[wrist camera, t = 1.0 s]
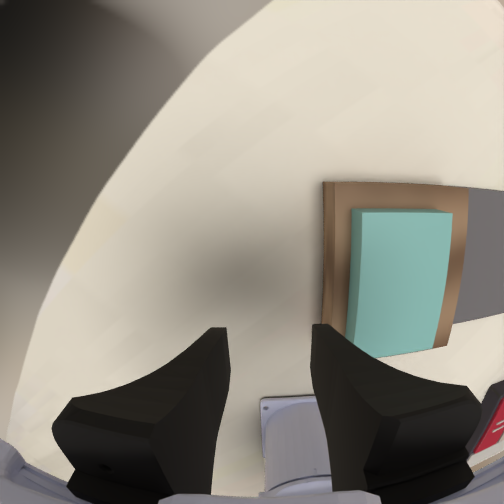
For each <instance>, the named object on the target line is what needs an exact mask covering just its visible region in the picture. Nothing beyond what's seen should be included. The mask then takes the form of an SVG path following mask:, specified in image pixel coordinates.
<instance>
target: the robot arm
mask: <svg viewBox="0 0 504 504" xmlns="http://www.w3.org/2000/svg"><path fill="white" fill-rule="evenodd" d="M310 369H311V377H312V384H313V389H314V393H315V396H303V397H286V398H264V399H262V400H261V402H260V409H261V429H262V450H263V458H265V492H260V493H259V496H258V497H236V496H219V495H211V486H212V475H213V465H214V457H215V448H216V441H217V436H218V431H219V427H220V423H221V419H222V415H223V411H224V408H225V403H226V399H227V395H228V391H229V383H230V373H231V367H230V358H229V348H228V339H227V329H226V327H211V328H210V329H209V330H207V331H206V332H205V333H204V334H203V335H202V336H201V337H200V338H199V339H198V340H196V341H195V342H194V343H193V344H192V345H191V346H189V347H188V348H187V349H186V350H185V351H183V352H182V353H181V354H179V355H178V356H177V357H175V358H174V359H173V360H171V361H170V362H169V363H167V364H166V365H164V366H162V367H161V368H159V369H157V370H156V371H154V372H152V373H150V374H148V375H146V376H144V377H142V378H140V379H138V380H135V381H133V382H131V383H129V384H126V385H123V386H120V387H118V388H114V389H111V390H108V391H104V392H100V393H96V394H91V395H86V396H80V397H74V398H72V399H71V400H70V401H69V403H68V404H67V405H66V407H65V408H64V409H63V411H62V412H61V413H60V415H59V416H58V417H57V419H56V420H55V421H54V423H53V425H52V432H53V436H54V439H55V441H56V442H57V444H58V446H59V447H60V449H61V450H62V452H63V453H64V455H65V456H66V457H67V459H68V460H69V461H70V463H71V464H72V466H73V467H74V468H75V471H74V473H73V474H72V476H71V478H70V480H69V482H66V481H64V480H61V479H59V478H57V477H55V476H53V475H50V474H48V473H46V472H44V471H42V470H40V469H38V468H36V467H34V466H32V465H30V464H28V463H27V462H25V460H24V458H23V457H22V455H21V454H20V453H19V452H18V451H17V450H16V449H15V448H14V447H13V446H12V445H10V444H9V443H7V442H5V441H4V440H2V439H0V504H504V456H503V457H502V458H500V459H498V460H496V461H495V462H493V463H491V464H489V465H487V466H485V467H483V468H481V469H480V470H477V471H475V472H472V470H471V469H470V467H469V465H468V463H467V461H466V459H468V457H469V452H468V451H467V449H466V447H465V446H466V445H467V443H468V441H469V440H470V438H471V437H472V435H473V433H474V431H475V430H476V428H477V426H478V424H479V422H480V419H481V416H482V410H483V409H482V406H481V403H480V402H479V401H478V399H477V398H476V397H475V396H474V394H473V393H472V392H471V391H470V389H469V388H468V387H467V386H463V385H455V384H447V383H440V382H436V381H432V380H427V379H423V378H420V377H417V376H413V375H411V374H408V373H405V372H403V371H400V370H397V369H395V368H393V367H391V366H389V365H387V364H385V363H383V362H381V361H379V360H377V359H375V358H374V357H372V356H370V355H369V354H367V353H366V352H364V351H363V350H361V349H360V348H358V347H357V346H356V345H354V344H353V343H352V342H350V341H349V340H348V339H346V338H345V337H344V336H343V335H341V334H340V333H339V332H338V331H337V330H335V329H334V328H333V327H332V326H331V325H329V324H313V325H312V344H311V362H310ZM266 406H267V407H266Z"/></svg>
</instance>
